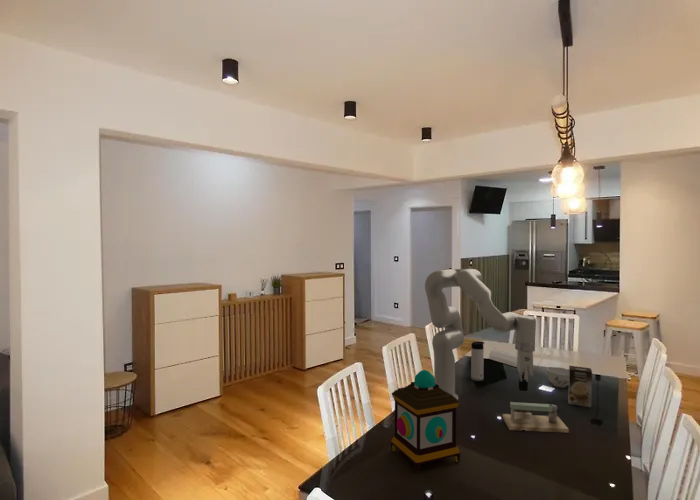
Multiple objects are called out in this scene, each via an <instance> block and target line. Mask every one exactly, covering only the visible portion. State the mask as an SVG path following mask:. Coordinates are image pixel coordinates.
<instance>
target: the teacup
mask: <svg viewBox="0 0 700 500" xmlns="http://www.w3.org/2000/svg"><path fill="white" fill-rule="evenodd" d="M546 374H547V378H548V381H550V383H551V384H552V386H553V387H556V388H562V389H565V388H567V387H568V386H569V368H564V367H560V366H559V367H557V366H556V367H553V366H551V367H547V368H546Z"/></svg>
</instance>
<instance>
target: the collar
mask: <svg viewBox="0 0 700 500" xmlns="http://www.w3.org/2000/svg"><path fill="white" fill-rule="evenodd" d="M519 411H523V412H524V413H522V412H519ZM510 414H511V418H512V419H513V421H514V423H516V424H532V415H533V413H532V412H531V410H517V409H511V408H510Z"/></svg>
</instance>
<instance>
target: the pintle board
mask: <svg viewBox="0 0 700 500" xmlns="http://www.w3.org/2000/svg"><path fill="white" fill-rule="evenodd" d="M519 412H522V413H524V412H523V411H519ZM502 419H503V421H504V423H505V424H506V426H507V428H508V430H509V431H522V430H525V431H527V432H545V433H547V432H548V433H565V434H566V433H570V432H569V431H570V430H569V427H568V426H566V424H565V423H564V422H563V421H562V419H561V418H560V417H559V416H558V411H557V412H550V411H548V415H537V414H536V415H533V414H532V424H516V423H514V421H513V419H512V418H511V413H510V414H509V413H502Z"/></svg>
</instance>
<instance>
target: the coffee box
mask: <svg viewBox="0 0 700 500" xmlns="http://www.w3.org/2000/svg"><path fill="white" fill-rule="evenodd" d="M568 369H569V385H568V393H567V401H568V402H567V403H568V405H573V406H574V405H575V406H578V407H579V406H580V407H584V408H585V407H586V408H592V387H593V386H592V384H593V383H592V379H593V377H592V376H593V371H592V368H591V367H583V366H576V365H569V368H568Z"/></svg>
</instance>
